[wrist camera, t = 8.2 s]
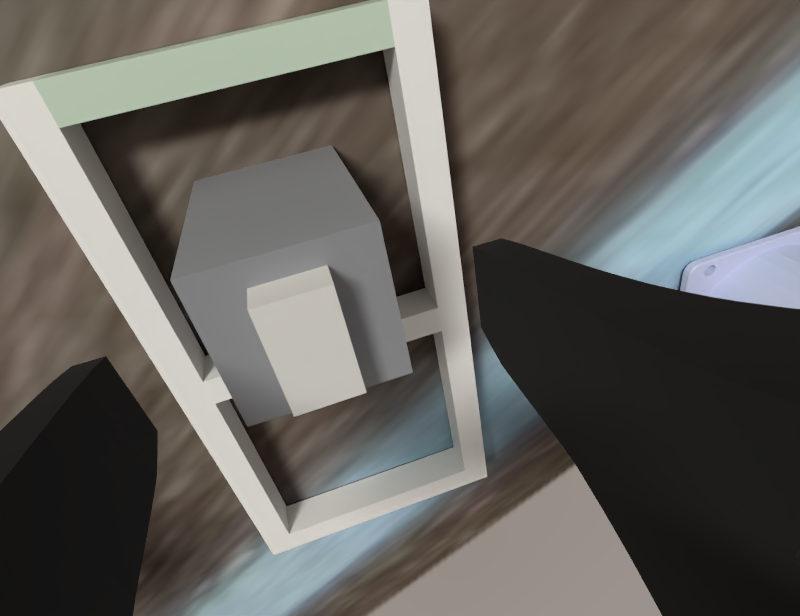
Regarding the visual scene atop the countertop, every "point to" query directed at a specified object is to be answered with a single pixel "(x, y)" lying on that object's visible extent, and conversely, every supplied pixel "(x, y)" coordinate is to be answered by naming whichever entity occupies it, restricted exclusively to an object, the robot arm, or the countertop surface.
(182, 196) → the countertop surface
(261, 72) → the frame
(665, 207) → the countertop surface
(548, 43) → the countertop surface
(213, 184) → the plug
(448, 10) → the countertop surface
